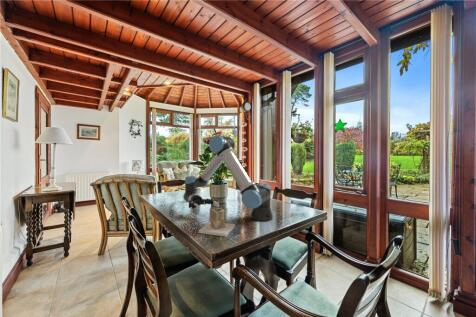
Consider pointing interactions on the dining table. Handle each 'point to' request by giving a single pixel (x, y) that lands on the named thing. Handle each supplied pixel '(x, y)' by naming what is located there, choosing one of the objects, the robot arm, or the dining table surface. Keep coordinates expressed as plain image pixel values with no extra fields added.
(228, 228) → the base plate
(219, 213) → the birch sleeve
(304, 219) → the dining table surface
